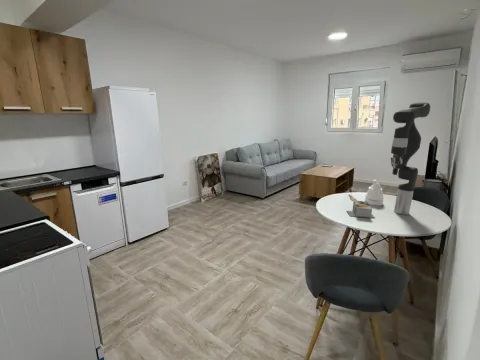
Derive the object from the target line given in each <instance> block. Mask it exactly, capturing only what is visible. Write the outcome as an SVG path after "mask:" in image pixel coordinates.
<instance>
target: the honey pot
mask: <svg viewBox="0 0 480 360" xmlns="http://www.w3.org/2000/svg"><path fill="white" fill-rule="evenodd" d="M372 182H373V183H372V184H371V185H370V186H369V187H368V190H367V192H366V194H365V199H364V202H367V203H368V204H369V205H372V206H383V205H382V204H384V197H385V196H384V193H383V188H382V186H381V185H380V183H379V182H377V179H372Z"/></svg>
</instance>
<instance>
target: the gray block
mask: <svg viewBox="0 0 480 360" xmlns="http://www.w3.org/2000/svg"><path fill="white" fill-rule="evenodd" d="M346 213H347V214H348V216H349V217H354V218H360V217H359V216H356V214H355V212H354V210H346ZM364 218H368V219H375V218H376V217H375V216H374V214H372V213H371V218H369V217H364Z"/></svg>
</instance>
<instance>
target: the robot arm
mask: <svg viewBox="0 0 480 360" xmlns="http://www.w3.org/2000/svg"><path fill="white" fill-rule="evenodd" d="M430 112H431V105H430V103H429V102H411V103H410V105H409V108H407V109H399V110H397V111H395V113H393V117H392V118H393V121H394V122H395V123H396V124H404V126H399V127H396V128H395V129H394V135H393V140H392V144H391V150H390V153H391V154H393V155H392V157H390V164H391V165H390V166H391V167H392V175H394V176H397V177H398V178H399V180H404V181H408V182H406V183H400V184H399V185H398V186H397V193H396V198H395V202H394V203H395V204H394V210H393V212H394V213H395V214H399V215H404V216H408V215H410V213H411V212H410V211H411V206H412V201H413V196H414V190H415V186H416V182H417V178H418V174H419V169H418V168H417V167H415V166H414V167H413V166H407V165H408V162H409V160H410V159H411V158H412V156H414V155H416V153H417V152H418V150H419V149H420V147H421V144H422V143H421V142H422V136H421V134H420V132H419V130H418V128H417V126H416V123H415V119H418V118H426V117H428V116H429V114H430Z"/></svg>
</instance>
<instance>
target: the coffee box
mask: <svg viewBox="0 0 480 360" xmlns="http://www.w3.org/2000/svg"><path fill="white" fill-rule="evenodd" d="M352 202H353V203H352V204H353V205H352V211H354V212H355V214H356V216H359V217H358V218H365V217H369V218H368V219H372V218H371V214H372V212H373V209H372V207H371V206H370V204H368V203H367V202H365V200H364V201H362V200H357V201H352Z"/></svg>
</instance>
